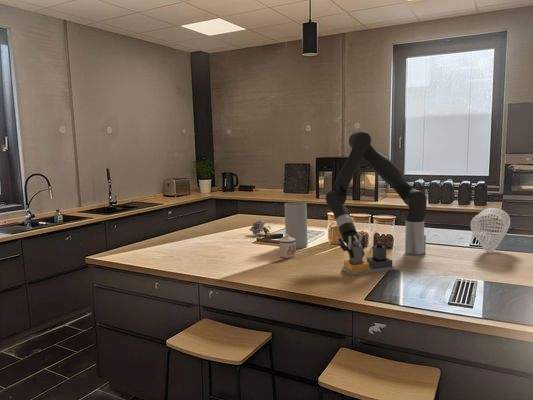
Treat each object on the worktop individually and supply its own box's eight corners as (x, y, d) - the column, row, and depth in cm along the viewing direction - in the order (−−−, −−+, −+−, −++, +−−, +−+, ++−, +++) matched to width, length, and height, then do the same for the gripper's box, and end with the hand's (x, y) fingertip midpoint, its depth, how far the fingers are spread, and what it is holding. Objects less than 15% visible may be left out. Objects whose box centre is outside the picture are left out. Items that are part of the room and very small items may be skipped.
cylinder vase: (307, 243, 249) (306, 201, 246) (307, 249, 237) (306, 205, 233) (286, 243, 250) (285, 202, 247) (285, 249, 238) (283, 205, 235)
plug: (358, 262, 197) (358, 239, 195) (362, 265, 193) (362, 241, 191) (349, 263, 196) (349, 240, 194) (353, 266, 192) (353, 242, 190)
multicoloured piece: (383, 264, 203) (383, 239, 202) (394, 269, 195) (394, 243, 193) (342, 269, 198) (341, 243, 196) (350, 275, 189) (350, 248, 187)
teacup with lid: (289, 259, 218) (288, 237, 217) (275, 256, 224) (274, 235, 223) (302, 254, 227) (302, 232, 226) (289, 251, 233) (288, 231, 232)
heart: (501, 262, 199) (503, 216, 196) (466, 257, 209) (467, 213, 206) (511, 248, 221) (512, 207, 218) (478, 245, 231) (480, 205, 227)
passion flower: (256, 244, 275) (245, 229, 275) (264, 237, 284) (253, 223, 284) (267, 236, 268) (255, 221, 269) (275, 229, 277) (264, 215, 278)
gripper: (334, 223, 197) (346, 254, 187) (362, 220, 201) (375, 251, 191) (330, 231, 203) (341, 263, 193) (356, 229, 206) (369, 259, 197)
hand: (358, 257), depth 192 cm, fingers closed on plug, 4 cm apart
